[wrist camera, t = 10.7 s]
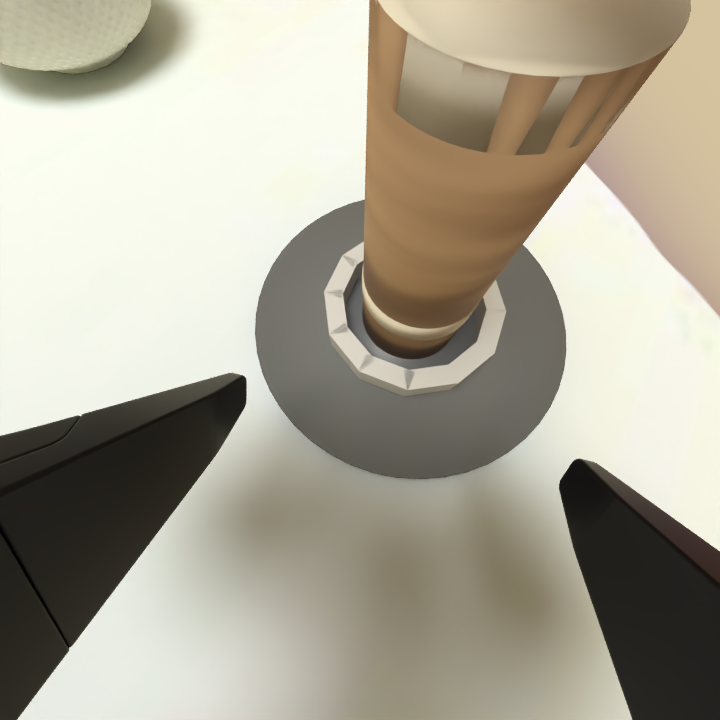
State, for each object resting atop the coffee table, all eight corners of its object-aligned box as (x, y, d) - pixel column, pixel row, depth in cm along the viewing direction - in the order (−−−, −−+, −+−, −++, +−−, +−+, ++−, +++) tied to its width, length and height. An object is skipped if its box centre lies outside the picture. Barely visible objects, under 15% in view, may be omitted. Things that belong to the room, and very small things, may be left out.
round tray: (519, 536, 15) (549, 550, 13) (204, 401, 17) (178, 392, 15) (577, 254, 20) (606, 227, 18) (331, 178, 22) (328, 144, 20)
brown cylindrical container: (404, 380, 16) (541, 132, 4) (342, 307, 18) (304, -41, 5) (477, 322, 17) (760, -9, 5) (413, 258, 19) (516, -123, 7)
